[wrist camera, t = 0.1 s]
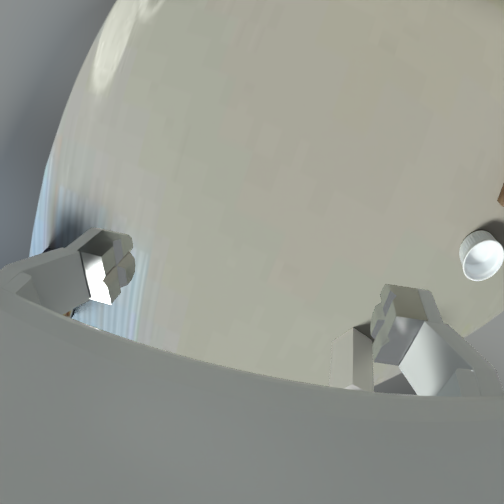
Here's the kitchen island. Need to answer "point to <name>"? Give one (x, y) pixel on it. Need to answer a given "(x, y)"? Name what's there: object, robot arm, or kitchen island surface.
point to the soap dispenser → (352, 362)
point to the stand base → (501, 197)
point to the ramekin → (481, 255)
